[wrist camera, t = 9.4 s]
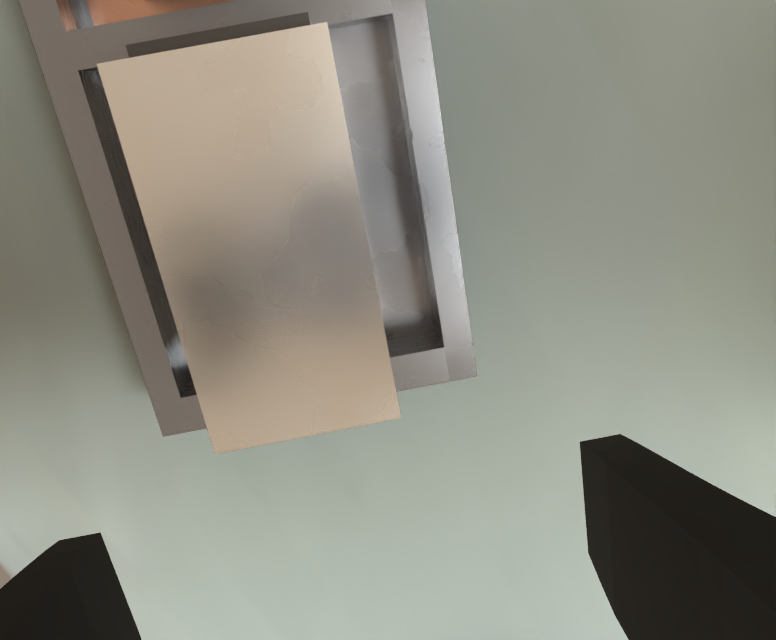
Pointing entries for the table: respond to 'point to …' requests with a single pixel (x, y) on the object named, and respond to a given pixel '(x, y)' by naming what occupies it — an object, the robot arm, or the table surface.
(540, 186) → the table surface
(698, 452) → the table surface
